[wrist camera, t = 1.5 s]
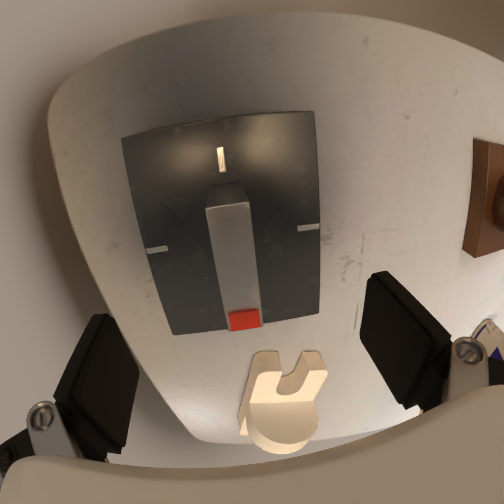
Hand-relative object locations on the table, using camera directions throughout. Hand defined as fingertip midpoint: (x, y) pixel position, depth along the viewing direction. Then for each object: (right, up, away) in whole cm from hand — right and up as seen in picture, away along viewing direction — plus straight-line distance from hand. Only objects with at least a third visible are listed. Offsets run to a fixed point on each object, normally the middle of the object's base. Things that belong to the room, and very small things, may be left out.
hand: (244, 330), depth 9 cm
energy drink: (+38, -10, +22) cm, 45 cm away
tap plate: (-1, +5, +10) cm, 11 cm away
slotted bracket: (+3, -13, +19) cm, 23 cm away
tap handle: (-1, +4, +7) cm, 8 cm away
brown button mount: (+27, +9, +11) cm, 31 cm away
